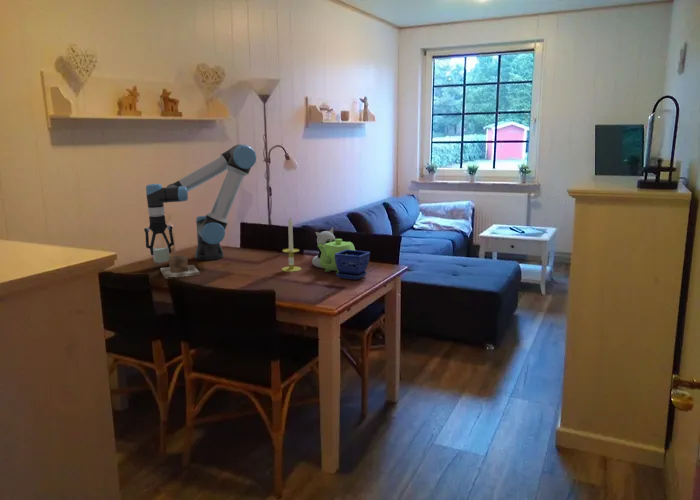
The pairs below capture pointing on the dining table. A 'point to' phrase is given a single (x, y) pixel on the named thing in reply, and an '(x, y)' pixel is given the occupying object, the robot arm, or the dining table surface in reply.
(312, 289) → the dining table surface
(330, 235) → the decorative figurine
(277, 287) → the dining table surface
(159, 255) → the sage cube
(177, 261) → the walnut block
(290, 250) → the candle
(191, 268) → the build board
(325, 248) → the teapot
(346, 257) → the flower pot
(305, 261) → the dining table surface
